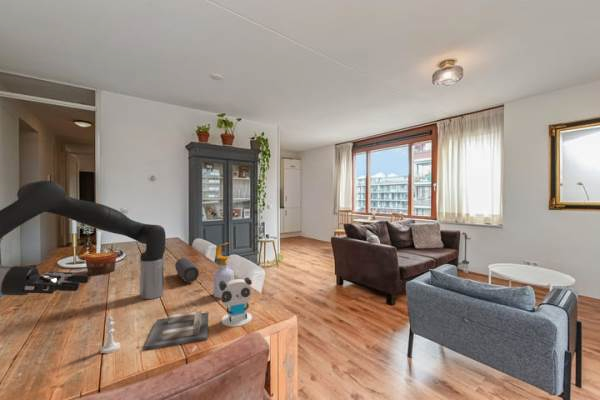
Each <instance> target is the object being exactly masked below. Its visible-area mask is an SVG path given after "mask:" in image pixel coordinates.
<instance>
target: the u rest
mask: <svg viewBox="0 0 600 400" xmlns="http://www.w3.org/2000/svg"><path fill="white" fill-rule="evenodd" d="M208 328H209V312H202V310H200V311H192V312H184V313H177V314H169V315H168V317H164V318H157V319H156V321H155V323H154V325H153V327H152V329H151V331H150V334H149V336H148V338H147V341H146V343H145V345H144V350H145V351H147V350H153V349H154V350H155V349H159V348H165V347H171V346H178V345H182V344H188V343H194V342H201V341H206V340H208V332H209V331H208V330H209V329H208Z"/></svg>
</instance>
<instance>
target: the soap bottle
mask: <svg viewBox="0 0 600 400" xmlns="http://www.w3.org/2000/svg"><path fill="white" fill-rule="evenodd" d="M228 244H229V242H225V243H221V244H219V245H217V246H216V247H215V257H216V259H217V260H220V261H221V262H220V264H219V269H217V270H216V271H215V272H214V273H213V296H214V297H215V298H218V299H221V297H220V292H221V290H220V287H219V283H220V282H221V281H225V283H227V282H228V281H231V280H234V279H235V274H234V271H233V270H232V269H231V268H229V267H228V262H226V261H228V259H229V258H230V256H227V255H226V256H224V255H222V246H225V245H228Z"/></svg>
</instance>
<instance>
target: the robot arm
mask: <svg viewBox="0 0 600 400" xmlns="http://www.w3.org/2000/svg"><path fill="white" fill-rule="evenodd" d="M16 196H17V199H16V200H15V201H13V202H12V203H10V204H8V205H7V206H5V207H4V208H1V209H0V239H2V238H3V237H5V236H7V234H10V233H11V232H12V231H14V230H15V229H17V228H19V227H20V226H22V225H23V224H25V223H27V222H29V221H30V220H33V218H36V217H37V216H39V215H41V214H43V213H50V214H54V215H57V216H62V217H65V218H67V219H69V220H72V221H75V222H78V223H80V224H83V225H85V226H89V227H91V228H94V229H98V230H101V231H102V232H103V231H104V232H108V233H112V234H117V235H121V236H124V237H128V238H130V239H132V240H134V241H136V242H139V243H140V244H144V245H145V246H146V247H145V251H144V252H141V254H140V256H139V257H140V262H139V263H140V275H139V296H140V298H141V299H142V300H152V299H157V298H160V297H162V296H163V295H164V292H165V291H164V289H165V288H164V286H165V285H164V254H165V252H166V230H165V228H164V227H163V226H161V225H160V224H159V225H158V224H149V223H148V224H147V223H142V222H139V221H136V220H133V219H130V218H129V217H128V216H127V215H125V214H124V213H123V212H122V211H119V210H117V209H115V208H112V207H110V206H108V205H105V204H102V203H98V202H93V201H87V200H83V199H78V198H74V197H71V196H69V195H67V194H66V189H65V188H64V187H63V186H62V185H61V184H60V183H58V182H56V181H53V180H52V181H51V180H39V181H38V180H37V181H33V182H32V181H31V182H29V183H27V184H25V185H23V186H20V187H19V188H18V190H17V193H16ZM89 277H90V275H89V274H88V275H87V274H86V275H83V274H82V275H81V274H75V273H74V272H70V271H69V272H67V271H52V270H51V271H48V272H44V273H43V274H42V273H41V274H39V270H38V268H37V267H36V266H25V265H24V266H23V265H10V264H9V265H6V264H0V296H27V295H28V294H45V295H46V294H49V295H51V294H54V292H55V293H58V292H63V291H64V292H76V291H77V292H78V290H79V288H80V284H87V283H88V282H89Z"/></svg>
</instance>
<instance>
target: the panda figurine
mask: <svg viewBox="0 0 600 400" xmlns="http://www.w3.org/2000/svg"><path fill="white" fill-rule="evenodd" d="M250 285H252V280H251V279H250V277H245V278H244V279H241V278H237V279H235V278H234V280H231V281H228V282H227V283H225V281H221V282H220V283H219V287H220V290H221V292H220V297H221V298H220V300H221V303H222V305H224V306H225V307H226V313H227V314H224V315H223V317H222V318H221V324H222V325H224V326H226V327H231V328H233V327H241V326H245V325H247V324H249V323H250V322H251V321H252V320H253V315H252V314H251V313H250V312H248V309H249V306H250V305H249V303H248V302H249V301H250V299H251V298H252V290H251V289H252V288H251V287H250Z"/></svg>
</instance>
